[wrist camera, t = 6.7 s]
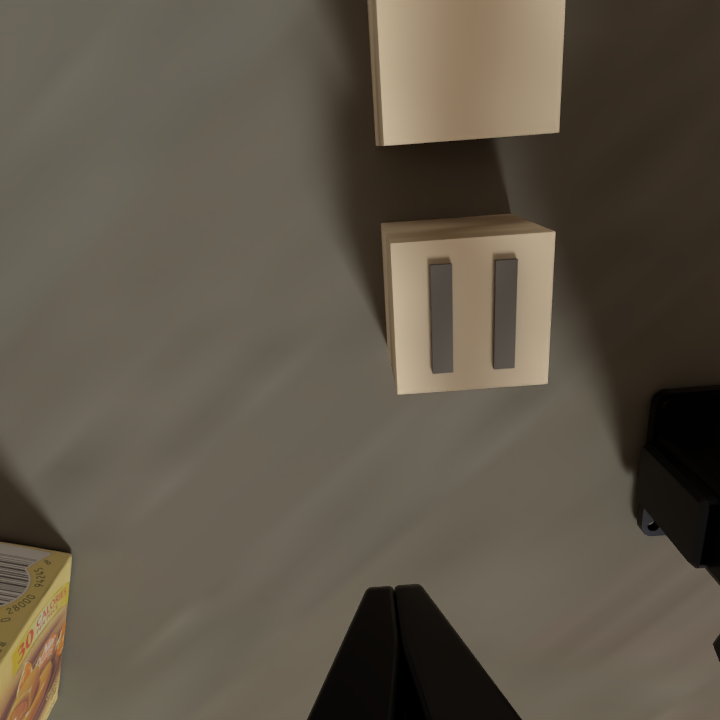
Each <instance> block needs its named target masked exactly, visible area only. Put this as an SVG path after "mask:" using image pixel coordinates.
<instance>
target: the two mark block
mask: <svg viewBox="0 0 720 720" xmlns="http://www.w3.org/2000/svg"><path fill="white" fill-rule="evenodd" d="M555 233H556V232H555V231H553V230H550V229H548V228H545V227H543V226H541V225H538V224H536V223H533V222H531V221H528V220H526V219H523V218H521V217H518V216H516V215H513V214H498V215H484V216H471V217H457V218H443V219H429V220H415V221H401V222H387V223H381V237H382V255H383V274H384V293H385V311H386V330H387V347H388V351H389V356H390V361H391V366H392V370H393V375H394V380H395V384H396V389H397V394H398V395H399V394H413V393H427V392H440V391H454V390H468V389H482V388H496V387H510V386H524V385H538V384H548V366H549V347H550V328H551V309H552V290H553V271H554V252H555Z"/></svg>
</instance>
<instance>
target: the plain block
mask: <svg viewBox="0 0 720 720" xmlns="http://www.w3.org/2000/svg"><path fill="white" fill-rule="evenodd" d="M565 1H566V0H367V3H368V20H369V37H370V55H371V72H372V89H373V107H374V124H375V142H376V146H390V145H403V144H416V143H429V142H442V141H455V140H469V139H482V138H495V137H508V136H521V135H534V134H547V133H559V124H560V104H561V83H562V63H563V42H564V22H565Z"/></svg>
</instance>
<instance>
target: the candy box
mask: <svg viewBox="0 0 720 720" xmlns="http://www.w3.org/2000/svg"><path fill="white" fill-rule="evenodd" d="M71 562H72V555H71V554H70V553H65V552H59V551H54V550H47V549H42V548H36V547H30V546H24V545H18V544H12V543H6V542H0V720H46V719H47V717H48V715H49V713H50V711H51V709H52V707H53V705H54V704H55V702H56V700H57V697H58V687H59V680H60V671H61V661H62V652H63V644H64V636H65V627H66V614H67V604H68V597H69V585H70V575H71Z"/></svg>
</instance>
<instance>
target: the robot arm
mask: <svg viewBox="0 0 720 720" xmlns="http://www.w3.org/2000/svg"><path fill="white" fill-rule="evenodd" d="M669 399H670V400H671V401H670V403H669V404H668V405H667V406H665V407H663V404H664V402H665V401H666V400H669ZM636 498H637V500H638V502H639V508H638V517H637V525H638V526H639V528H640V529H641V530H642V531H643V533H644V534H646V535H648V536H660V535H666V536H667V537H668V538H669V539H670V540H671V542H672V543H673V544H674V545H675V546H676V548H677V549H678V550H679V551H680V553H681V554H682V555H683V556H684V557H685V559H686V560H687V561H688V562H689V563H690V564H691V565H692V566H694V567H695V568H705V569H706V570H707V571H708V572H709V573H710V575H711V576H712V577H713V578H714V579H715V580H716V582H717V583H718V584H719V585H720V385H714V386H701V387H688V388H674V389H664V390H660V391H659V392H657V393H656V394H655V395H654V396H653V397H652V400H651V406H650V414H649V423H648V431H647V440H646V442H645V444H644V445H643V447H642V452H641V461H640V470H639V478H638V487H637V496H636ZM652 521H654V523H652V524H651V525H648V524H649V523H650V522H652ZM713 646H714V648H715V651H716V654H717V656H718V659H719V661H720V634H719V636H718V637H717V639H716V640H715V641H714V643H713ZM307 720H522V719H521V718H520V716H519V715H518V714H517V712H516V711H515V710H514V708H513V707H512V706H511V704H510V703H509V702H508V700H507V699H506V698H505V696H504V695H503V694H502V692H501V691H500V690H499V688H498V687H497V686H496V684H495V683H494V682H493V680H492V679H491V678H490V676H489V675H488V674H487V672H486V671H485V670H484V668H483V667H482V666H481V664H480V663H479V662H478V660H477V659H476V658H475V656H474V655H473V654H472V652H471V651H470V650H469V648H468V647H467V646H466V644H465V643H464V642H463V640H462V639H461V638H460V636H459V635H458V634H457V632H456V631H455V630H454V628H453V627H452V626H451V624H450V623H449V622H448V620H447V619H446V618H445V616H444V615H443V614H442V612H441V611H440V610H439V608H438V607H437V606H436V604H435V603H434V602H433V600H432V599H431V598H430V596H429V595H428V594H427V592H426V591H425V590H424V588H423V587H422V586H421V585H419V584H409V585H398V586H396V587H395V589H393V588H392V587H391V586H383V587H370V588H368V589H367V590H366V592H365V594H364V596H363V598H362V600H361V602H360V605H359V607H358V609H357V611H356V613H355V616H354V618H353V620H352V622H351V624H350V627H349V629H348V631H347V633H346V635H345V637H344V640H343V642H342V644H341V646H340V648H339V651H338V653H337V655H336V657H335V659H334V662H333V664H332V666H331V668H330V670H329V673H328V675H327V677H326V679H325V681H324V684H323V686H322V688H321V690H320V692H319V695H318V697H317V699H316V701H315V703H314V706H313V708H312V710H311V712H310V714H309V716H308V719H307Z"/></svg>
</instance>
